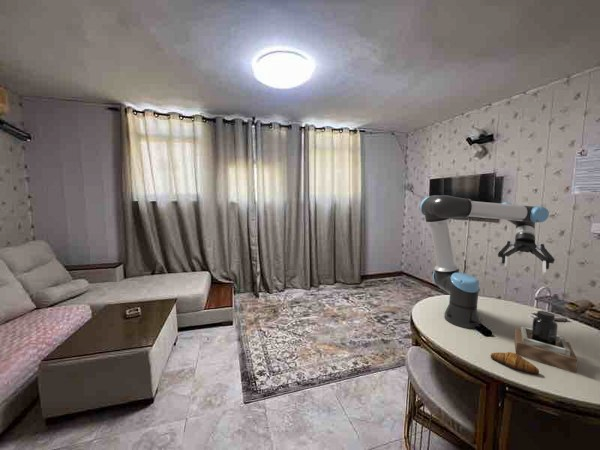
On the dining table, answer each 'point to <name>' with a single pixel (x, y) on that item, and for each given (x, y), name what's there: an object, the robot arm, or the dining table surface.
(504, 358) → the croissant
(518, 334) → the walnut tray
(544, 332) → the supplement bottle
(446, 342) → the dining table surface
